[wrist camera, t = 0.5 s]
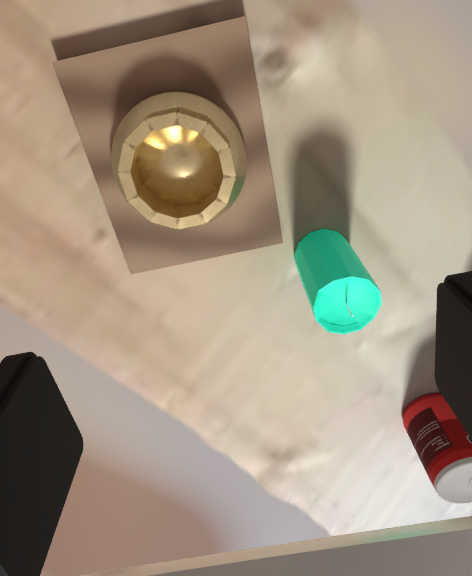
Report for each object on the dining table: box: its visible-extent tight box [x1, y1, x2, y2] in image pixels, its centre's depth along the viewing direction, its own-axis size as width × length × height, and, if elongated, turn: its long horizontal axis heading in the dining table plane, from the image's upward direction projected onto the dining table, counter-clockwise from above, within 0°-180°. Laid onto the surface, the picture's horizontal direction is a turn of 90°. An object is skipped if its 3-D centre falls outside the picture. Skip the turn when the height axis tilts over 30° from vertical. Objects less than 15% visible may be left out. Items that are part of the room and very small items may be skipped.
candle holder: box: [111, 91, 247, 229], centre depth 38 cm, size 12×12×4 cm
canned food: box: [403, 393, 472, 503], centre depth 55 cm, size 8×8×11 cm
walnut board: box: [52, 16, 283, 274], centre depth 41 cm, size 20×16×2 cm
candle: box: [294, 229, 382, 334], centre depth 42 cm, size 6×6×12 cm
